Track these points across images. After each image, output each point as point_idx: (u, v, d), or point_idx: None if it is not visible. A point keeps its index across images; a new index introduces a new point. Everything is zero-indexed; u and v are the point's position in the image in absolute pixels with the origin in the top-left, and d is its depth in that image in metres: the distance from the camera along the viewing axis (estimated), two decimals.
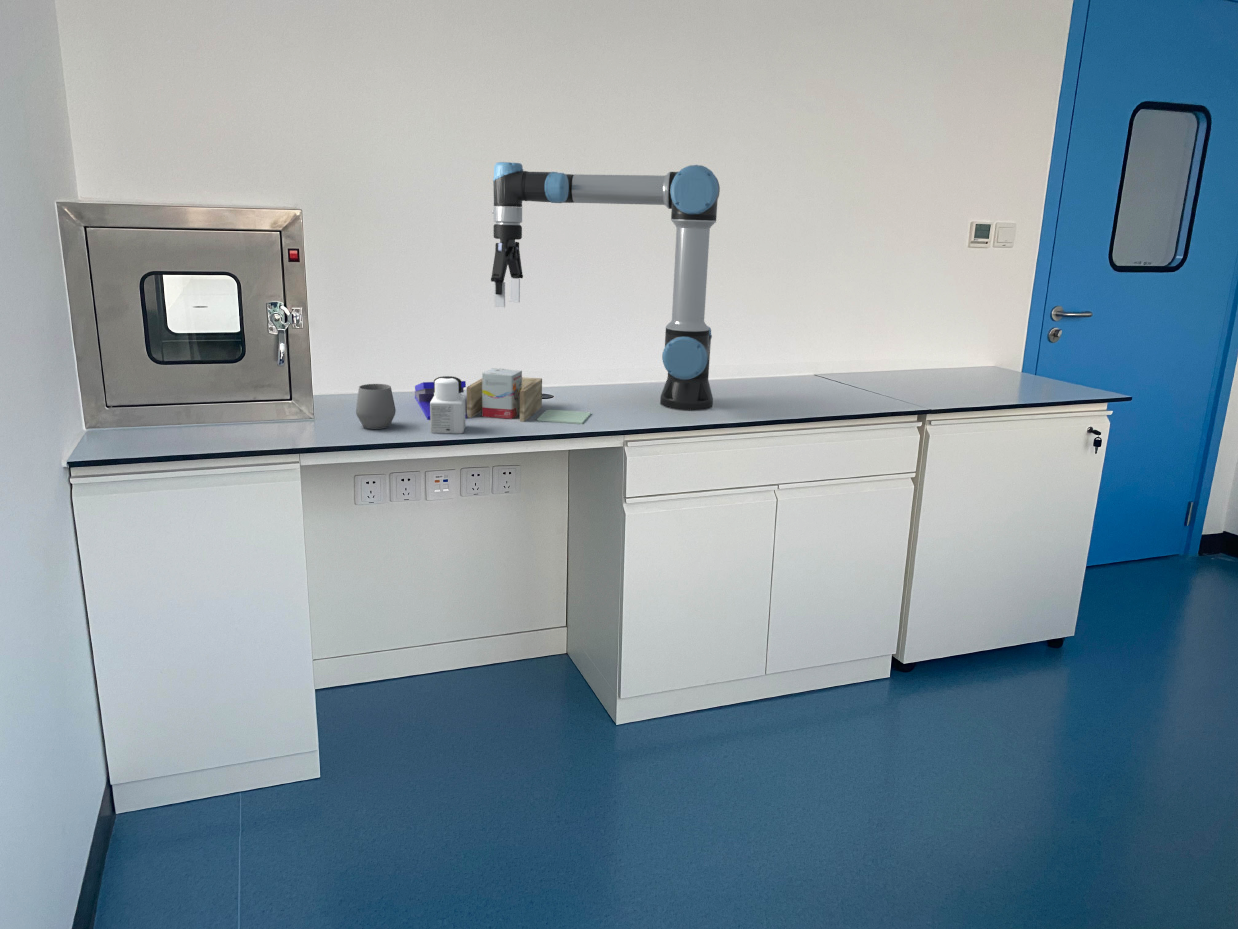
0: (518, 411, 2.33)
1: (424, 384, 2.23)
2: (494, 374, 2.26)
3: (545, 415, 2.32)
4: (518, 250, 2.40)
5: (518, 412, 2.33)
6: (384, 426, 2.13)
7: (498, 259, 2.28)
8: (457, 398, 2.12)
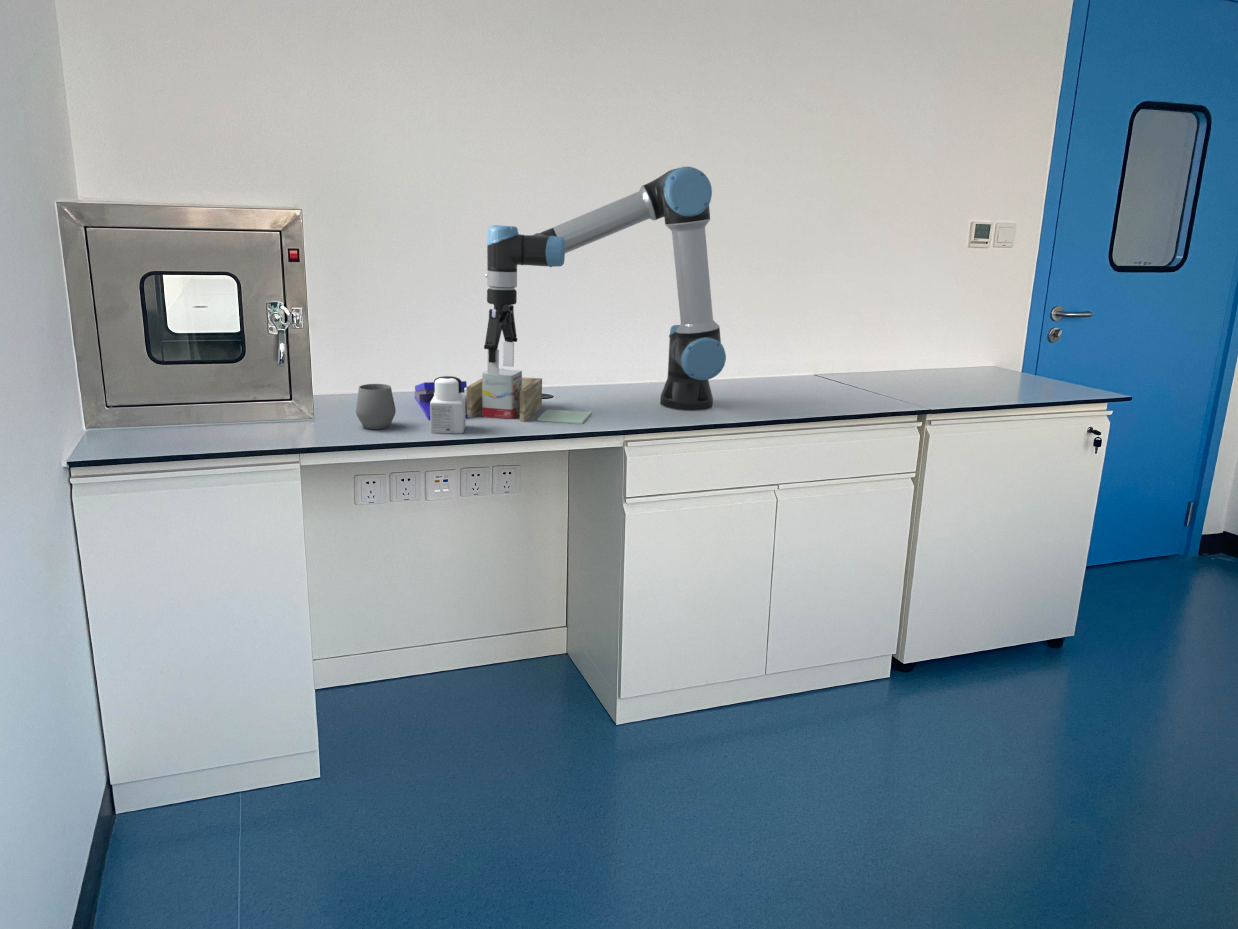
0: (518, 411, 2.33)
1: (425, 384, 2.23)
2: None
3: (545, 415, 2.32)
4: (512, 313, 2.31)
5: (518, 412, 2.33)
6: (384, 426, 2.13)
7: (492, 327, 2.19)
8: (457, 398, 2.12)
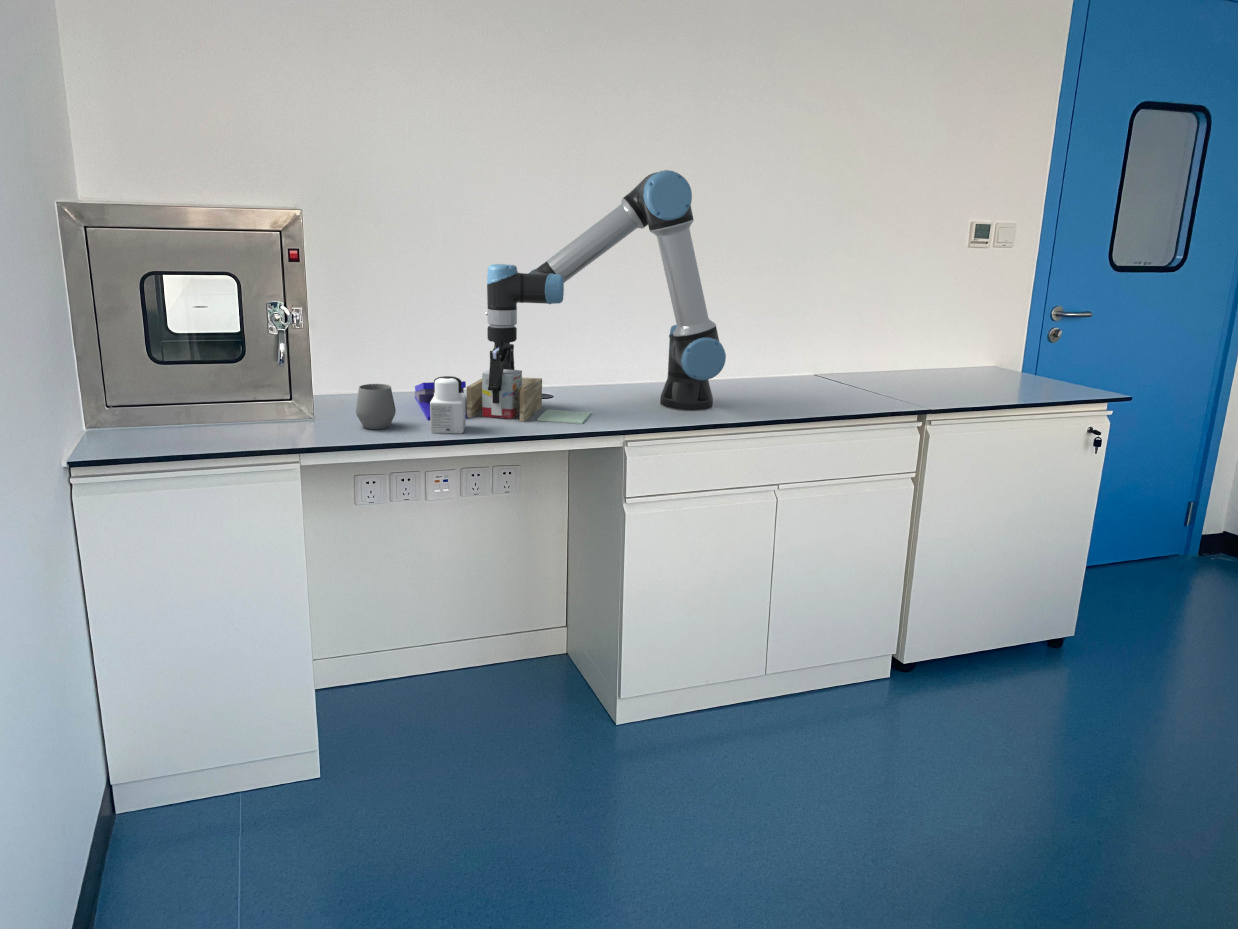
0: (518, 411, 2.33)
1: (424, 384, 2.23)
2: None
3: (545, 415, 2.32)
4: (512, 352, 2.34)
5: (518, 412, 2.33)
6: (384, 426, 2.13)
7: (494, 369, 2.23)
8: (457, 398, 2.12)
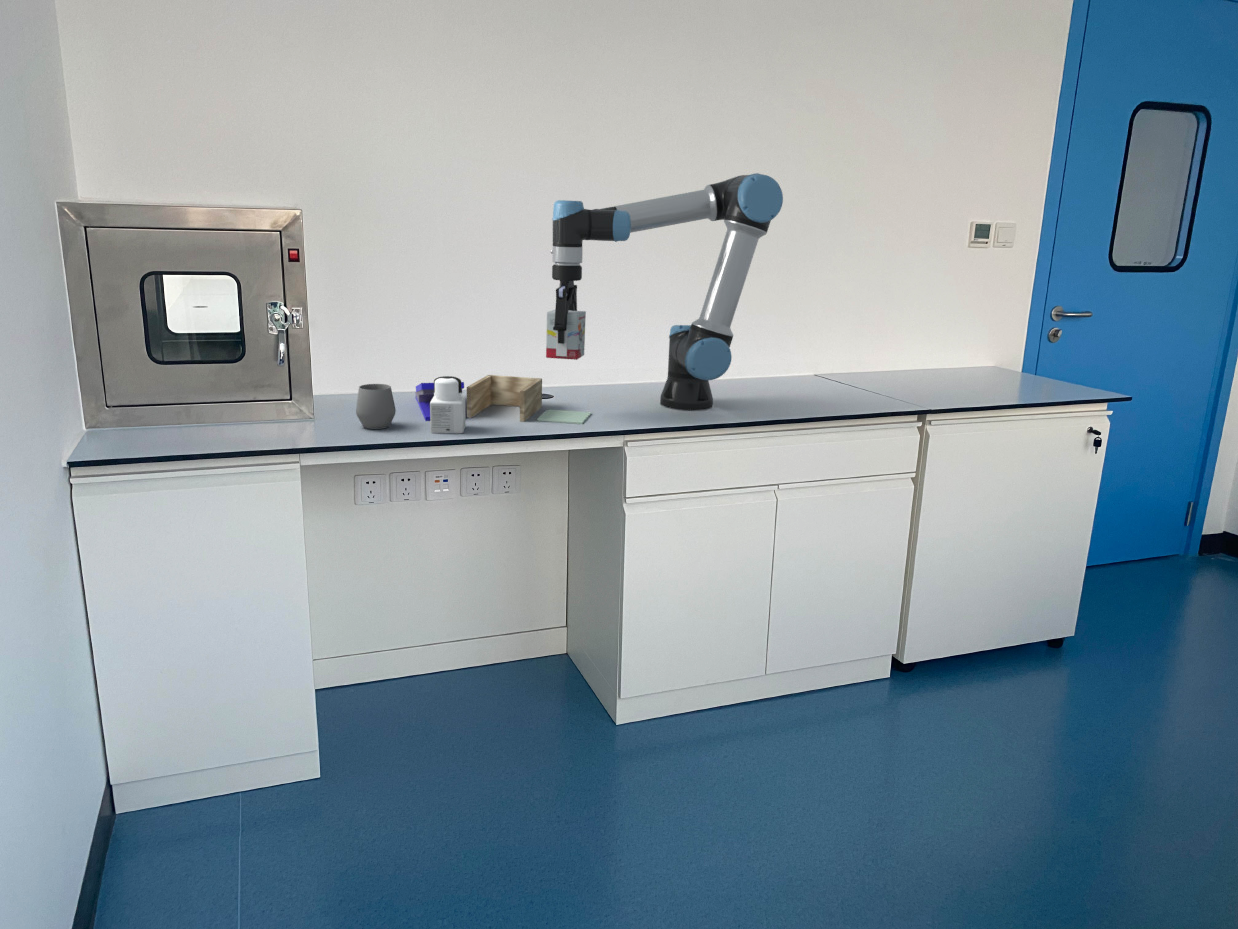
0: (582, 353, 2.28)
1: (422, 385, 2.22)
2: None
3: (545, 415, 2.32)
4: (576, 293, 2.29)
5: (582, 354, 2.28)
6: (384, 426, 2.13)
7: (560, 307, 2.17)
8: (457, 398, 2.12)
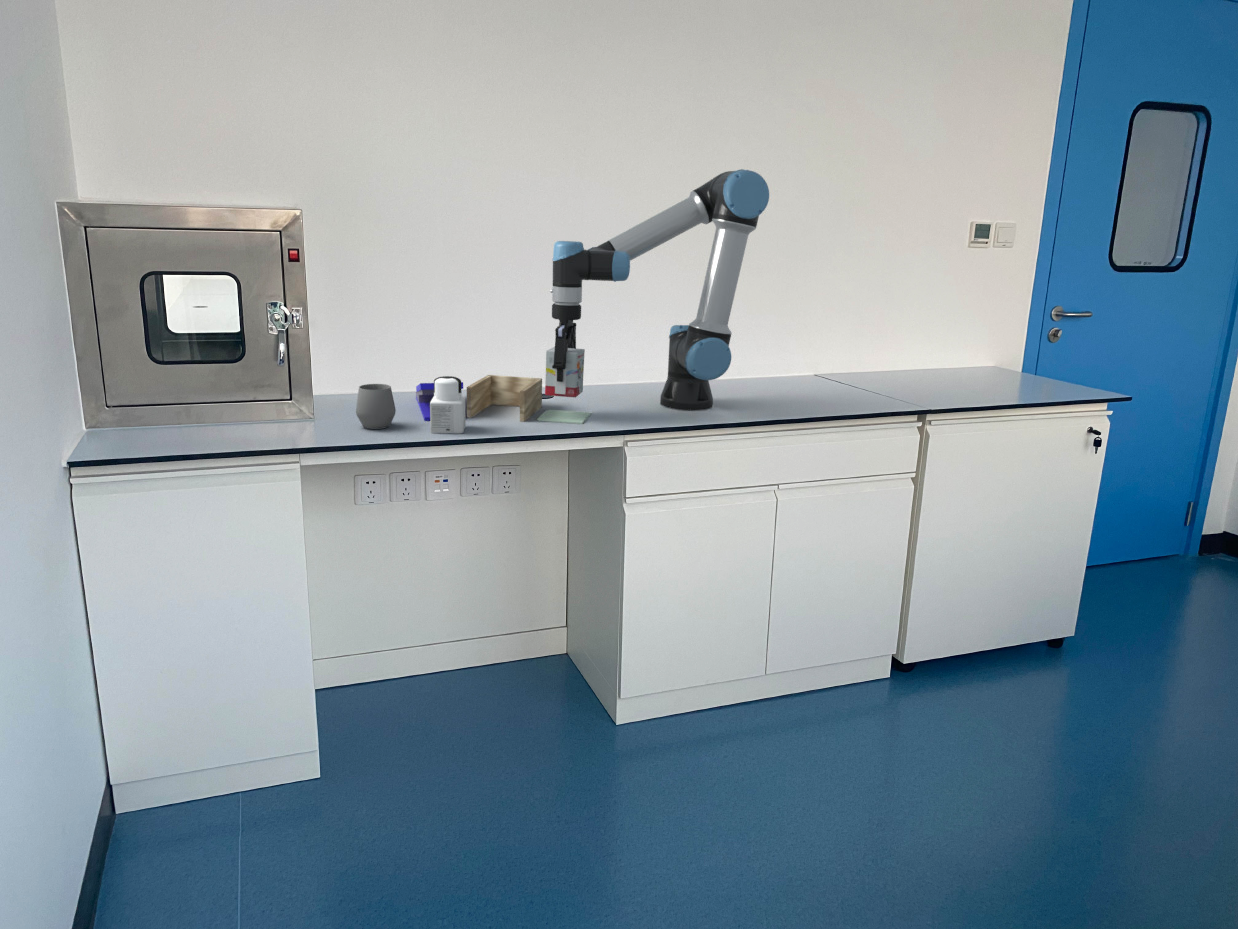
0: (580, 390, 2.31)
1: (421, 385, 2.22)
2: None
3: (545, 415, 2.32)
4: (575, 331, 2.31)
5: (580, 391, 2.31)
6: (384, 426, 2.13)
7: (559, 346, 2.20)
8: (457, 398, 2.12)
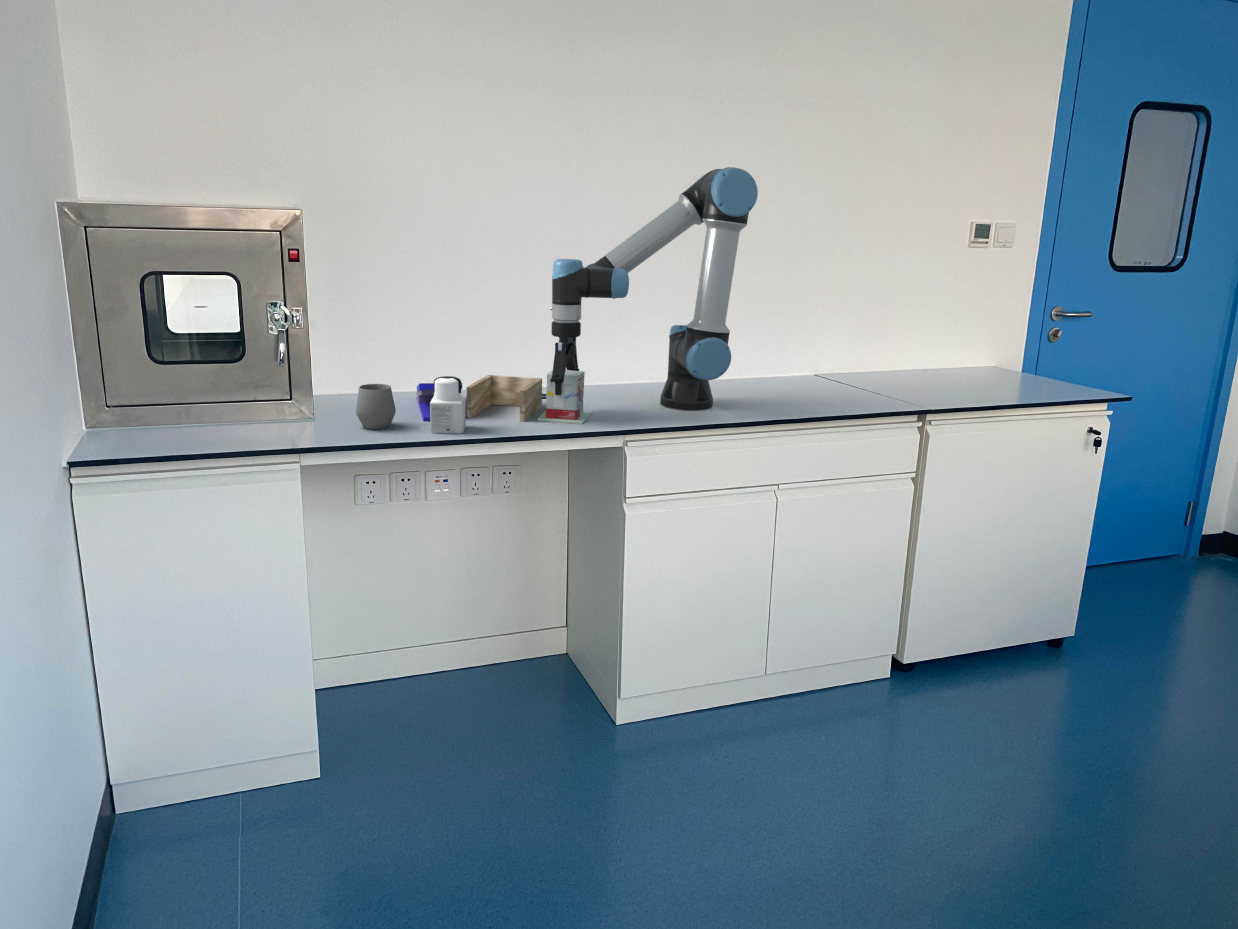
0: (581, 412, 2.33)
1: (420, 385, 2.22)
2: None
3: (545, 415, 2.32)
4: (575, 345, 2.33)
5: (581, 413, 2.33)
6: (384, 426, 2.13)
7: (558, 360, 2.20)
8: (457, 398, 2.12)
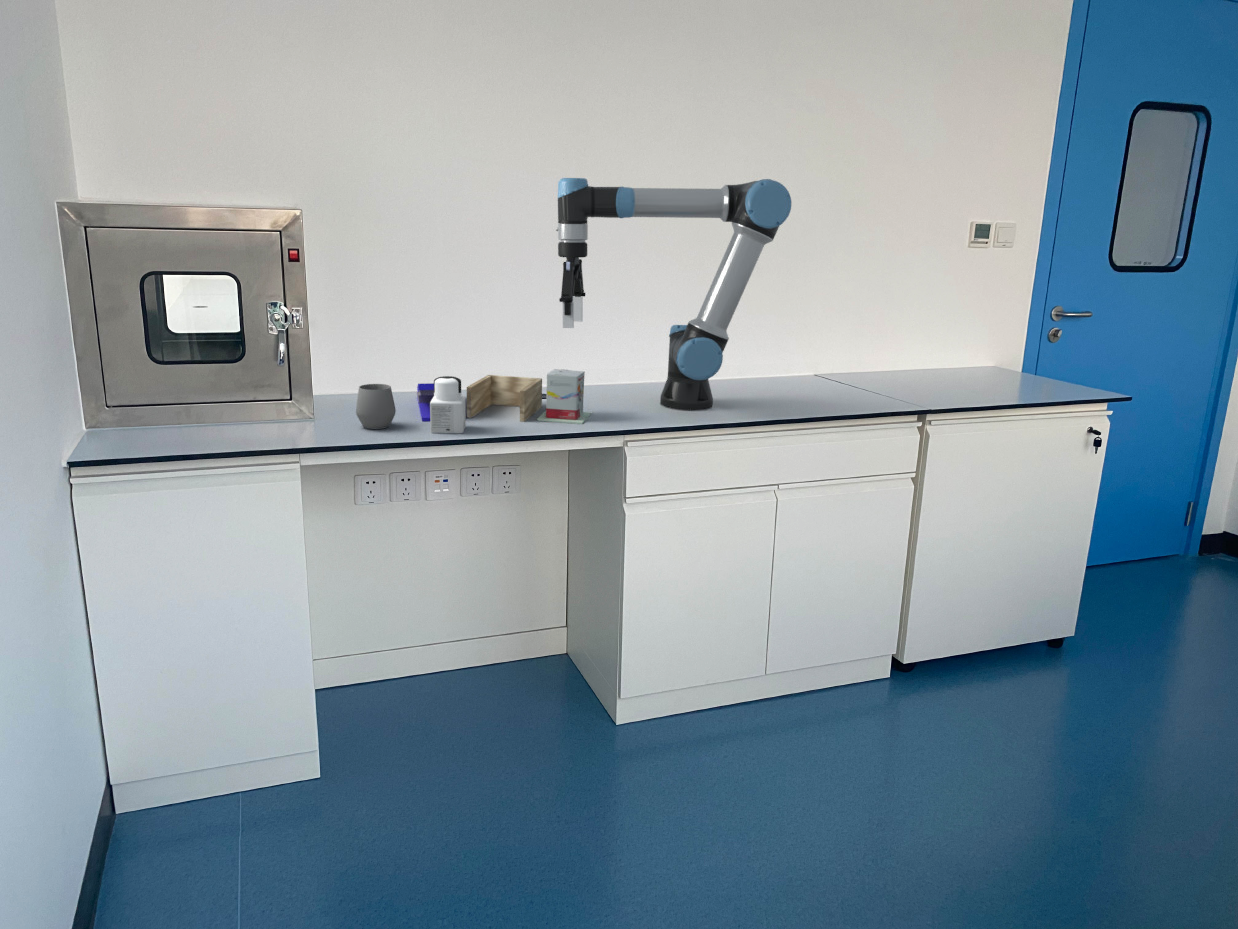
0: (581, 412, 2.33)
1: (419, 385, 2.21)
2: (559, 375, 2.26)
3: (545, 415, 2.32)
4: (581, 268, 2.32)
5: (581, 413, 2.33)
6: (384, 426, 2.13)
7: (567, 279, 2.19)
8: (457, 398, 2.12)
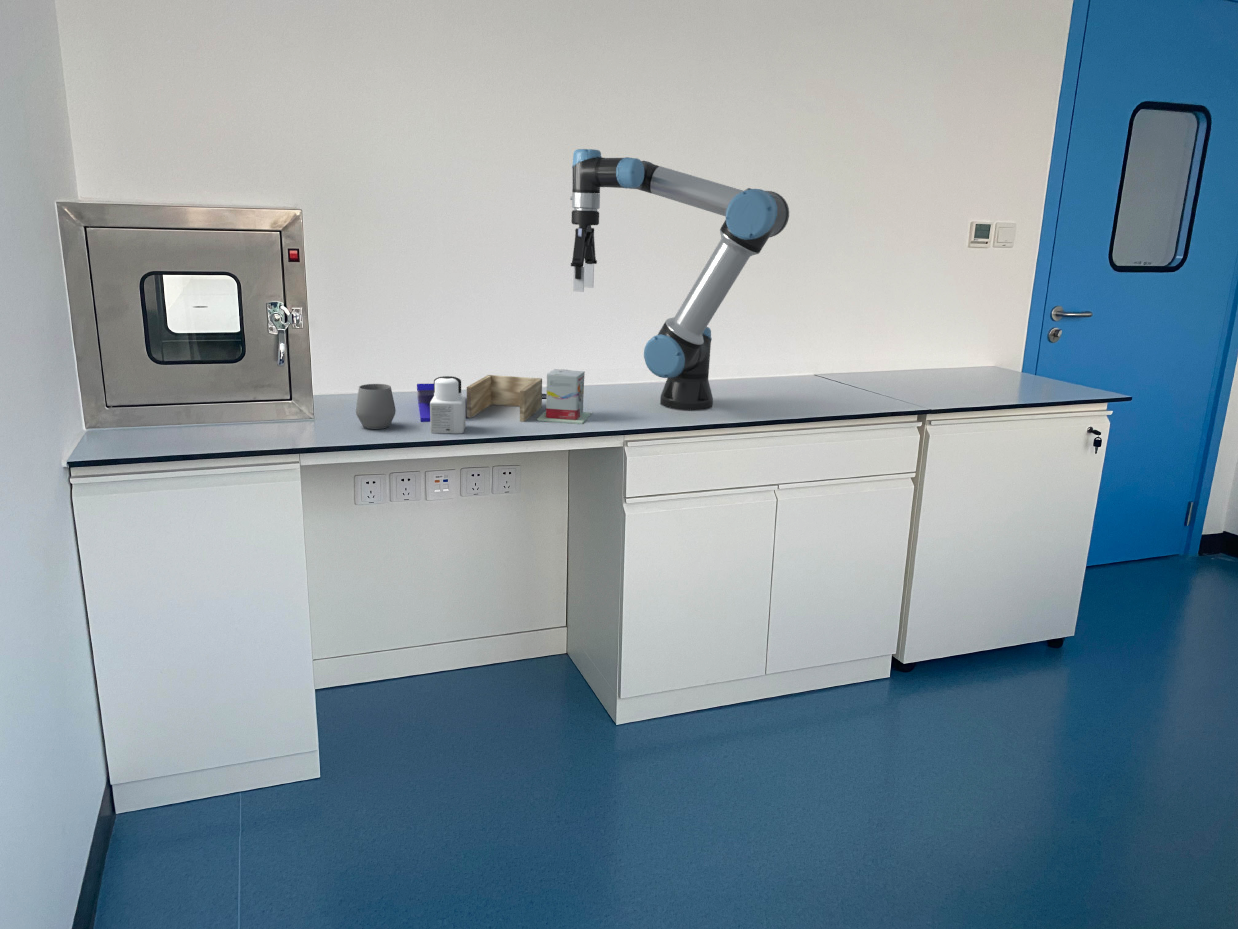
0: (581, 412, 2.33)
1: (418, 386, 2.21)
2: (559, 375, 2.26)
3: (545, 415, 2.32)
4: (593, 236, 2.45)
5: (581, 413, 2.33)
6: (384, 426, 2.13)
7: (578, 244, 2.32)
8: (457, 398, 2.12)
